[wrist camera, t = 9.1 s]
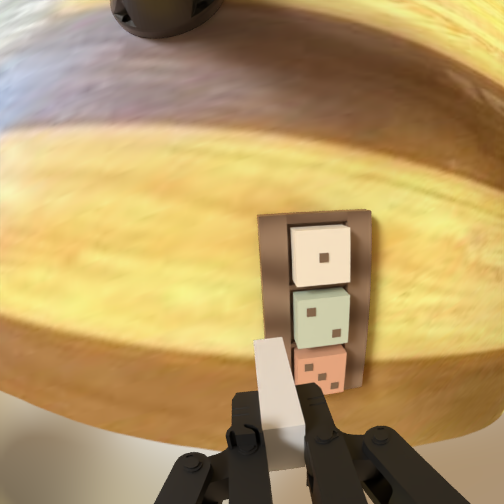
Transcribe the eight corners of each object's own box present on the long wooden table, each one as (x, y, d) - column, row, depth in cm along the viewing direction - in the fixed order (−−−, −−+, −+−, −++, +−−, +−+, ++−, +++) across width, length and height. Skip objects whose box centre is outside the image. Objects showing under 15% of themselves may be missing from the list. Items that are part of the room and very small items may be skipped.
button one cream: (290, 227, 35) (295, 231, 32) (341, 224, 35) (350, 227, 32) (292, 279, 36) (297, 287, 33) (341, 274, 36) (350, 282, 33)
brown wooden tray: (257, 214, 36) (258, 216, 34) (364, 209, 36) (371, 210, 34) (267, 390, 41) (269, 399, 39) (356, 378, 41) (361, 386, 39)
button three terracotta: (293, 347, 38) (298, 360, 35) (339, 341, 38) (347, 353, 35) (294, 385, 39) (298, 398, 36) (337, 379, 39) (343, 391, 36)
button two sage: (292, 291, 36) (297, 301, 33) (341, 287, 37) (350, 295, 34) (293, 337, 38) (298, 349, 35) (340, 331, 38) (347, 342, 35)
